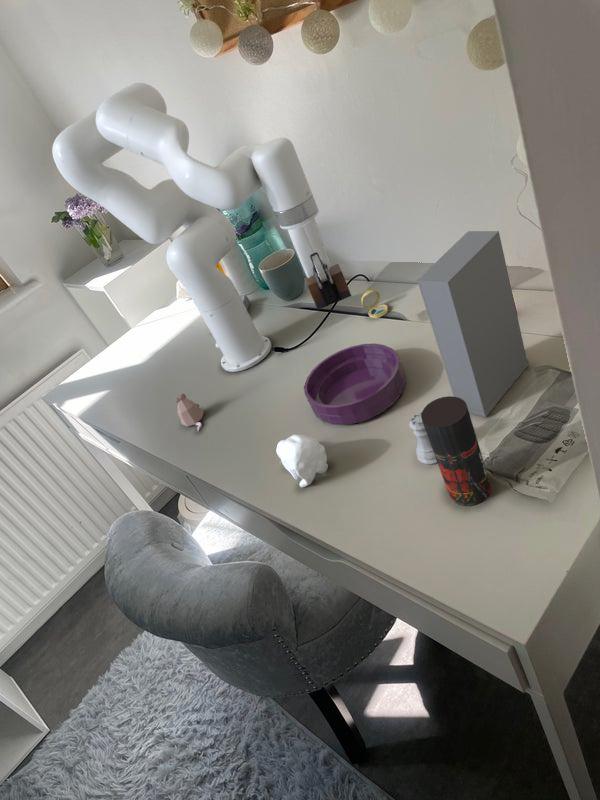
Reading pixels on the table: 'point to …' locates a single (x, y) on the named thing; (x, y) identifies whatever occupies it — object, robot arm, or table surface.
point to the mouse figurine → (189, 411)
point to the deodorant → (456, 450)
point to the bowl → (355, 384)
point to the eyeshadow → (373, 304)
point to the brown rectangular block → (336, 277)
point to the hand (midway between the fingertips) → (331, 296)
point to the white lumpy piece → (302, 457)
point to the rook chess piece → (422, 440)
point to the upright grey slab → (475, 320)
